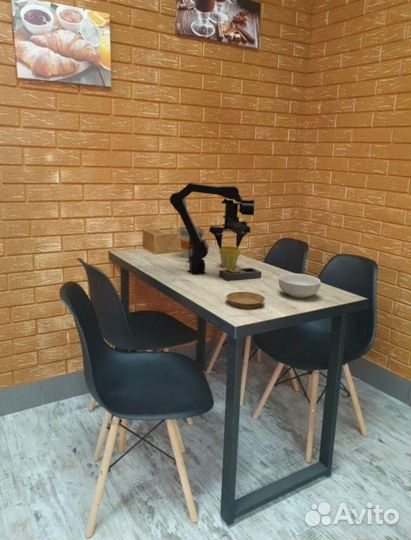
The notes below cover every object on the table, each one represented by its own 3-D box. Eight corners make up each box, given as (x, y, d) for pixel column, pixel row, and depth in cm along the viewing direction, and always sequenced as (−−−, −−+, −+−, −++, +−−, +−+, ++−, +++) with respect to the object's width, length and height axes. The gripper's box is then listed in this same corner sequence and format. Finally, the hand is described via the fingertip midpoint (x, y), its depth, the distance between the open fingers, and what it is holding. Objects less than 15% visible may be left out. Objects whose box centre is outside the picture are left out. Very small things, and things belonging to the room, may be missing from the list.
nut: (231, 279, 206) (231, 270, 205) (226, 277, 209) (226, 268, 208) (238, 278, 208) (239, 270, 207) (233, 276, 211) (234, 268, 210)
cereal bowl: (269, 291, 191) (270, 275, 189) (299, 287, 199) (301, 271, 198) (295, 303, 177) (297, 286, 175) (327, 299, 185) (329, 282, 183)
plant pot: (243, 268, 228) (244, 248, 226) (227, 270, 222) (228, 250, 220) (229, 263, 236) (231, 244, 234) (214, 265, 230) (215, 246, 227)
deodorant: (201, 261, 236) (202, 233, 232) (197, 264, 231) (198, 235, 227) (190, 260, 238) (191, 232, 234) (186, 262, 232) (187, 233, 229)
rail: (227, 281, 203) (227, 274, 202) (218, 276, 210) (219, 270, 209) (261, 277, 211) (261, 271, 210) (251, 273, 218) (252, 267, 217)
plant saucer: (223, 308, 168) (223, 301, 168) (228, 296, 182) (228, 290, 182) (263, 312, 166) (264, 305, 165) (265, 299, 180) (265, 293, 179)
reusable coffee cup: (202, 260, 240) (203, 231, 236) (178, 258, 240) (179, 230, 236) (202, 254, 252) (204, 228, 249) (180, 253, 252) (181, 226, 249)
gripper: (221, 216, 195) (219, 252, 199) (258, 216, 203) (255, 250, 207) (209, 213, 204) (207, 247, 208) (245, 212, 213) (242, 245, 217)
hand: (228, 247), depth 210 cm, fingers open, 9 cm apart
